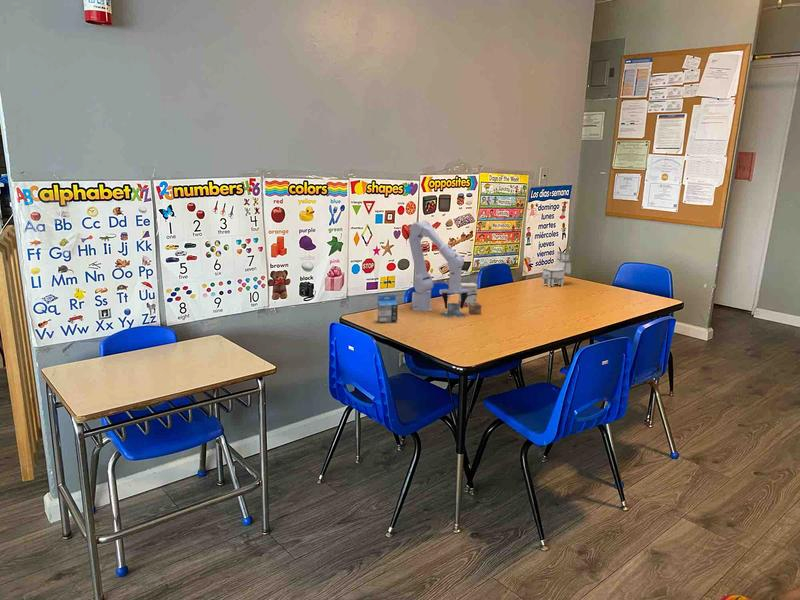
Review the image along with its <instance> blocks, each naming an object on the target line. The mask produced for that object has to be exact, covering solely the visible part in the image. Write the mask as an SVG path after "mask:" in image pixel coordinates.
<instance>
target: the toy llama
mask: <svg viewBox="0 0 800 600" xmlns="http://www.w3.org/2000/svg"><path fill="white" fill-rule="evenodd" d="M556 253H557V255H556V265H555V267H549V268H548V267H546V268H543V269H542V275H541V279H542V281H541V285H542V284H548V285H549V286H555V285H554V283H557V284H559V285H563V286H564V282H565V281H564V277H565V275H567V274H568V275H569V274H571V271H572V263H573V262H572V261H571V260H570V253H569V252H564V251H561V250H560V251H557V252H556ZM548 285H547V286H548Z"/></svg>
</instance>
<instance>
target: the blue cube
mask: <svg viewBox="0 0 800 600" xmlns="http://www.w3.org/2000/svg"><path fill="white" fill-rule="evenodd" d="M458 303H459V302H451V303H450V302H449V303H448V302H447V311H446V312H447V313H448V315H449V316H459V314H460V312H461V311H460V309H461V308H460V305H459V304H458Z"/></svg>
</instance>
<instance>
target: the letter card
mask: <svg viewBox="0 0 800 600" xmlns="http://www.w3.org/2000/svg"><path fill="white" fill-rule="evenodd" d="M441 313H442V314H443V316H444V317H445V318H466V316H465V314H464V313H463V311H460V314H459V316H449V315H448V313H447V311H441Z"/></svg>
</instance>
